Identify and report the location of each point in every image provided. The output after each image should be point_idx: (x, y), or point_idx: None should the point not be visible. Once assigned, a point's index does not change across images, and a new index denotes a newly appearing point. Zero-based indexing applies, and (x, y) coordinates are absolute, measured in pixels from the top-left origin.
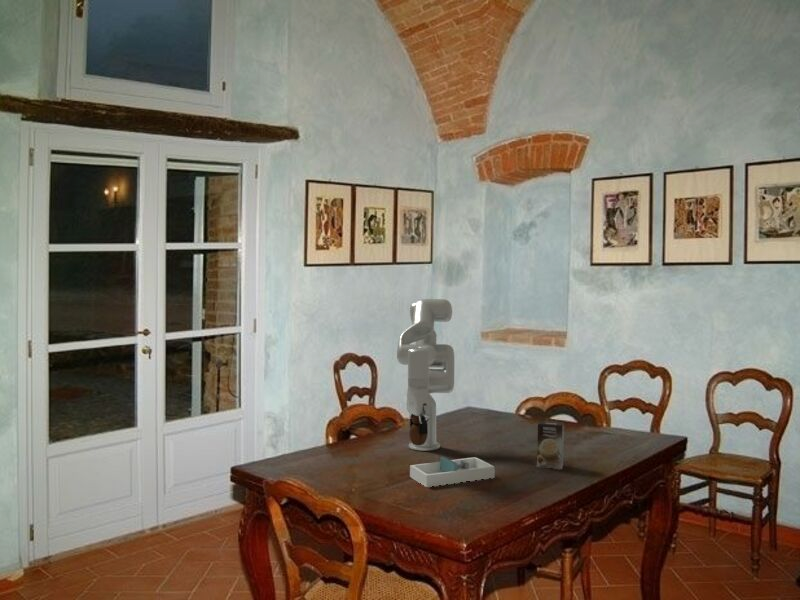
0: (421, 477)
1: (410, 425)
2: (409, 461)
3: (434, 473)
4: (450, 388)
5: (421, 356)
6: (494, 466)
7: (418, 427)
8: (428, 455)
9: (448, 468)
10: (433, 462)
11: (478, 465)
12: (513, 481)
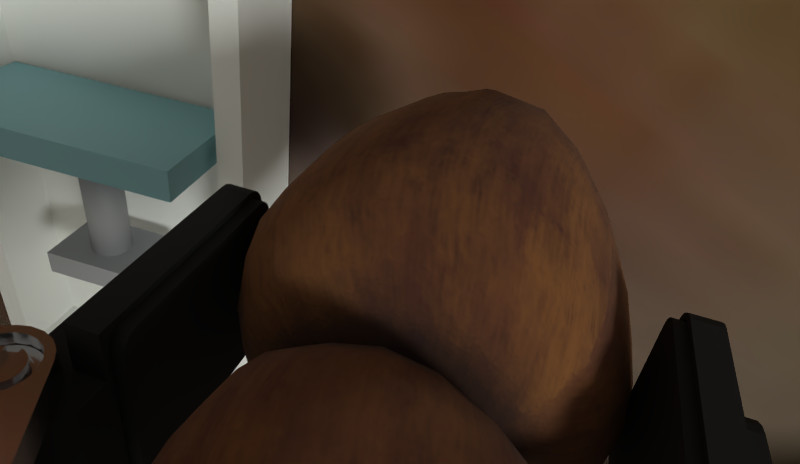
0: None
1: (698, 373)
2: (792, 141)
3: (204, 26)
4: None
5: None
6: None
7: (248, 292)
8: (791, 389)
9: (60, 101)
10: (237, 99)
11: None
12: (2, 323)
